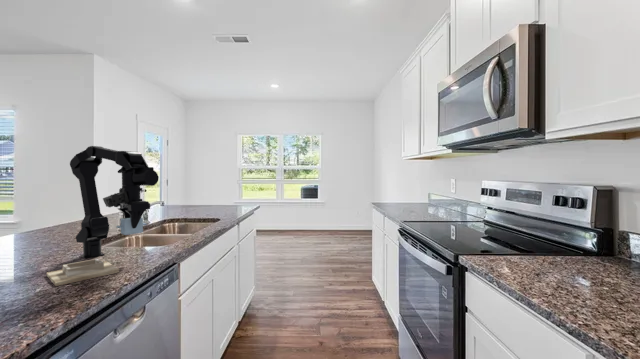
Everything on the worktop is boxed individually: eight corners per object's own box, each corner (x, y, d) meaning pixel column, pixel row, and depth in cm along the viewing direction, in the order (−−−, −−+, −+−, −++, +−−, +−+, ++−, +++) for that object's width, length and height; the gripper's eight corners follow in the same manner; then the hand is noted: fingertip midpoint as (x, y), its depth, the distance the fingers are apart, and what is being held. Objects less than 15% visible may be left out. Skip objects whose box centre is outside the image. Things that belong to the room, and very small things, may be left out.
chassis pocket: (46, 275, 97) (46, 265, 96) (105, 263, 109) (105, 254, 109) (55, 286, 88) (55, 274, 87) (119, 272, 100) (119, 262, 100)
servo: (116, 234, 110) (115, 219, 110) (143, 230, 117) (142, 216, 117) (119, 235, 108) (119, 220, 107) (147, 231, 114) (147, 217, 114)
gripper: (97, 185, 112) (98, 227, 112) (114, 187, 100) (115, 234, 100) (131, 184, 120) (131, 223, 121) (150, 185, 108) (151, 229, 109)
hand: (131, 227), depth 112 cm, fingers closed on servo, 4 cm apart
